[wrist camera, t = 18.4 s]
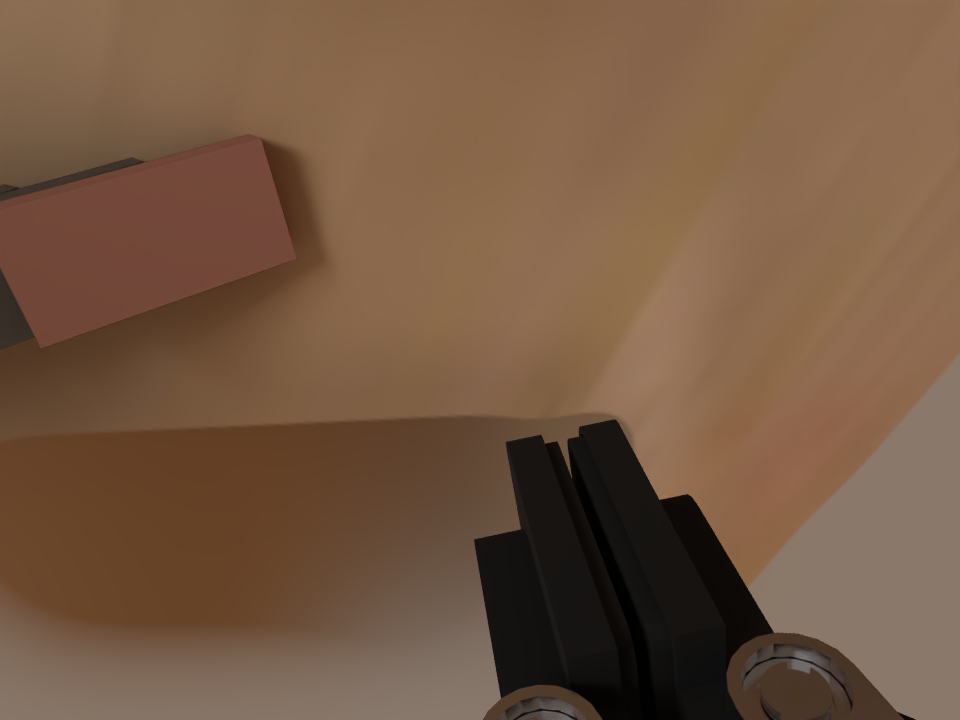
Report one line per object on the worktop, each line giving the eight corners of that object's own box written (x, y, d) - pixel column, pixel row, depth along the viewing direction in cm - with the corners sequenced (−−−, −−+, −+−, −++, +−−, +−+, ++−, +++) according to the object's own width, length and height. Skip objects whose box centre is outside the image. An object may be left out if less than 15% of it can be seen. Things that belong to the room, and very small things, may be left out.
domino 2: (284, 250, 33) (37, 335, 29) (248, 134, 30) (-26, 208, 26) (296, 258, 31) (40, 348, 27) (260, 138, 29) (-26, 216, 25)
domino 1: (176, 272, 33) (-89, 367, 28) (131, 157, 30) (-165, 240, 26) (187, 280, 31) (-87, 381, 27) (141, 161, 29) (-167, 248, 24)
